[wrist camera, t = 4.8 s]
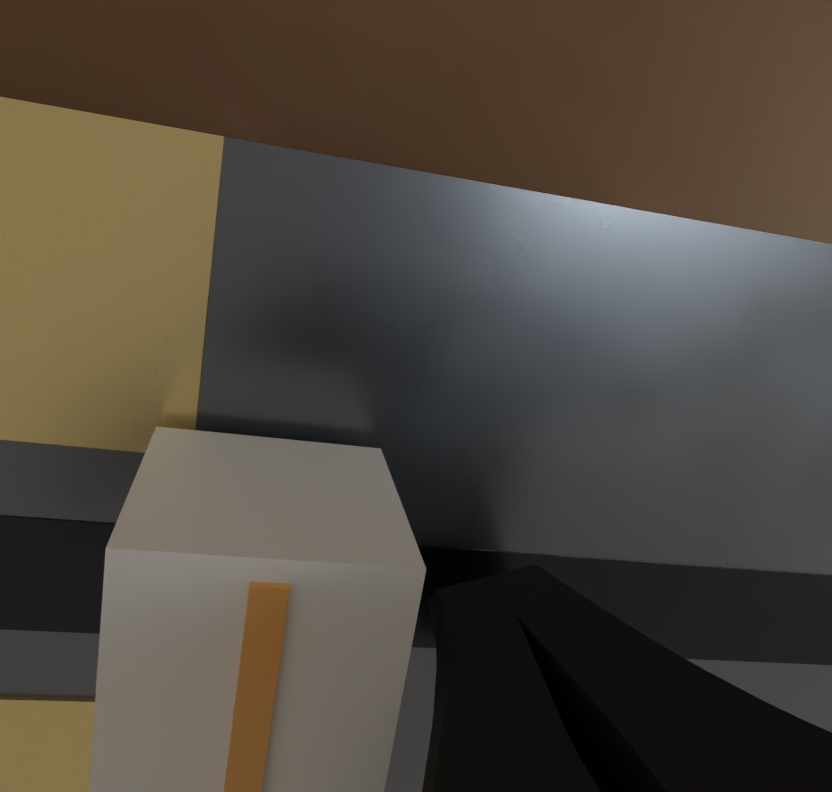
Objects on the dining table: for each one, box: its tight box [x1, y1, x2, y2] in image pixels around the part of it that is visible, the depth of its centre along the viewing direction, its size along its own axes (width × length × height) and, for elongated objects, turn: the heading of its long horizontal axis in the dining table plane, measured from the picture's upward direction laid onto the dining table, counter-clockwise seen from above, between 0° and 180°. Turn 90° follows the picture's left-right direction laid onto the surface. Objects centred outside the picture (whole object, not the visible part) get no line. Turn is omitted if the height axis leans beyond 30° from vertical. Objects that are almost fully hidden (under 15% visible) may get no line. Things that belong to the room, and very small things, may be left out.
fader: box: [89, 426, 426, 792], centre depth 8 cm, size 2×4×3 cm, turn 170°
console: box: [0, 97, 832, 792], centre depth 10 cm, size 19×10×2 cm, turn 80°
